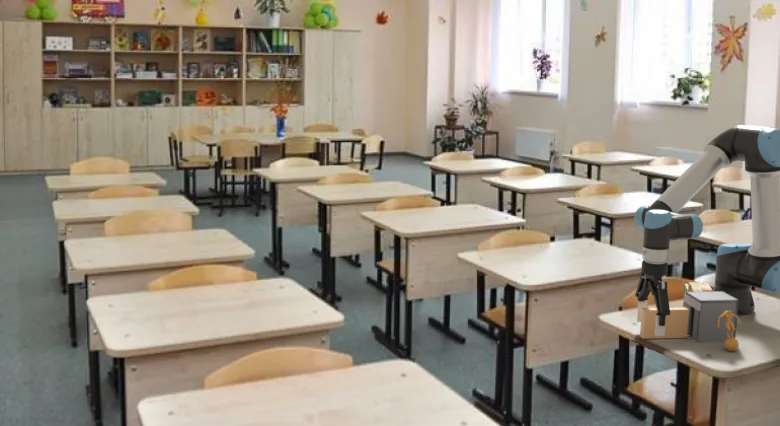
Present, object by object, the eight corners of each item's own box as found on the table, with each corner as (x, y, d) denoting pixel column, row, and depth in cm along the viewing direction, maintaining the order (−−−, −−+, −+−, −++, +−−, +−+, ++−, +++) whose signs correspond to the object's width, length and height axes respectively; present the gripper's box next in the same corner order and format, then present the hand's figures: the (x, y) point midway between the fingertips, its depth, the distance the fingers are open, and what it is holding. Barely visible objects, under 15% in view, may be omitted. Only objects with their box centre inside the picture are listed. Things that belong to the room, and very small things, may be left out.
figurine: (723, 354, 247) (726, 314, 245) (710, 347, 253) (713, 308, 251) (747, 351, 250) (750, 312, 248) (733, 345, 255) (737, 307, 253)
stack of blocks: (682, 309, 292) (684, 274, 290) (701, 310, 291) (704, 275, 288) (690, 328, 271) (693, 291, 269) (711, 329, 270) (714, 292, 268)
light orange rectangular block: (683, 335, 263) (685, 307, 261) (686, 337, 261) (689, 309, 259) (639, 336, 262) (641, 308, 260) (643, 338, 259) (645, 310, 258)
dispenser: (718, 331, 268) (722, 291, 266) (734, 341, 259) (738, 300, 256) (681, 332, 267) (684, 291, 265) (696, 342, 257) (699, 300, 255)
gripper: (627, 251, 268) (623, 316, 272) (660, 271, 244) (655, 342, 248) (650, 251, 269) (645, 315, 273) (685, 271, 244) (680, 341, 248)
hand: (650, 328), depth 260 cm, fingers open, 13 cm apart
